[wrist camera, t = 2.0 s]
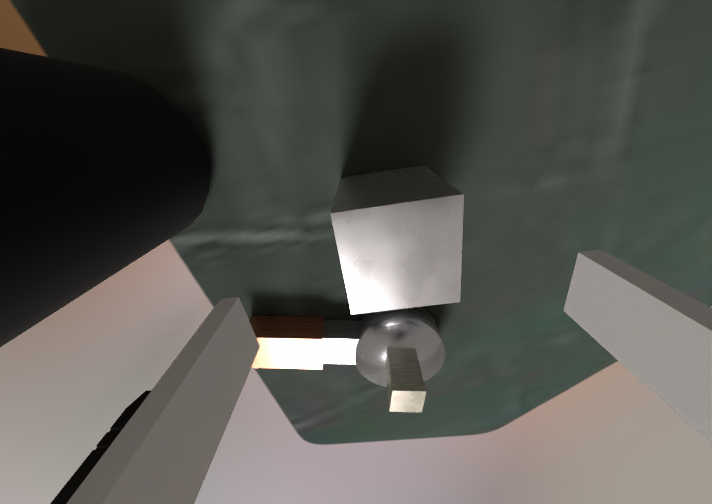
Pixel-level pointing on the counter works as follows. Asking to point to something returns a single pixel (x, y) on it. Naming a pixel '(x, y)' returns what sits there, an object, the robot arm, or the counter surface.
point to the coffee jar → (84, 181)
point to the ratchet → (359, 349)
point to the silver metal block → (399, 239)
